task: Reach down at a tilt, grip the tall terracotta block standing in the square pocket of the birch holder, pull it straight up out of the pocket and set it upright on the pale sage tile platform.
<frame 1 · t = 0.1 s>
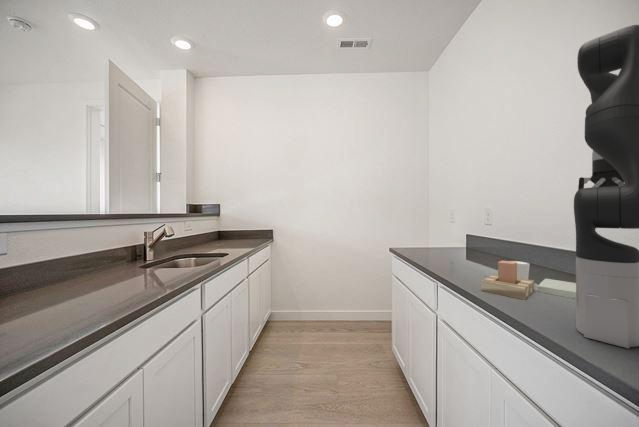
hand: (608, 206, 83), 29 cm above the worktop, tool pointing down, fingers open, 8 cm apart
birch holder: (507, 290, 86), on the worktop
shot glass: (518, 280, 100), on the worktop
sage tile platform: (569, 292, 84), on the worktop
terracotta block: (507, 276, 86), in the birch holder
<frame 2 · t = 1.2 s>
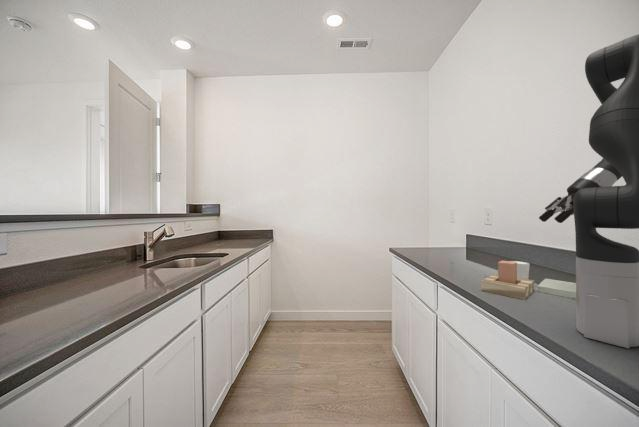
hand: (548, 220, 83), 25 cm above the worktop, tool tilted 45°, fingers open, 8 cm apart
nothing on the worktop moved.
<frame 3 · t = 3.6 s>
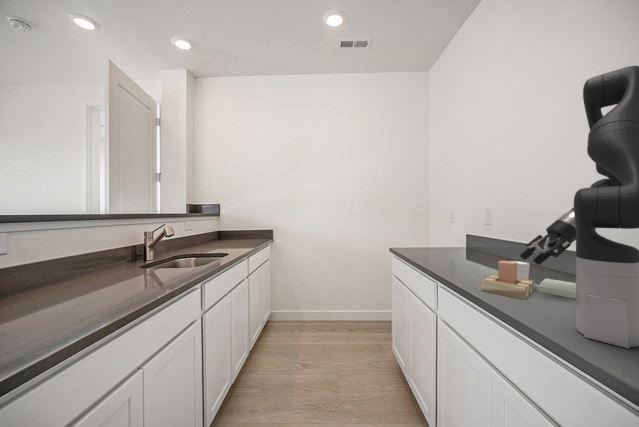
hand: (528, 260, 84), 11 cm above the worktop, tool tilted 45°, fingers open, 8 cm apart
nothing on the worktop moved.
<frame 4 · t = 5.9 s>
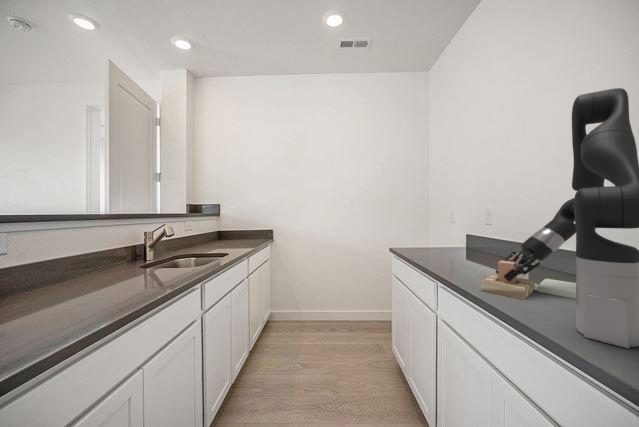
hand: (501, 276, 87), 5 cm above the worktop, tool tilted 45°, fingers closed on terracotta block, 6 cm apart
terracotta block: (507, 276, 86), in the birch holder, touching gripper
everything else where it was.
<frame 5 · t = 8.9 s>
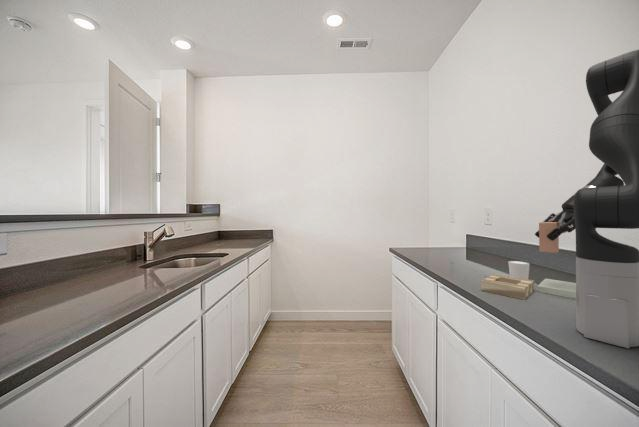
hand: (543, 237, 85), 19 cm above the worktop, tool tilted 45°, fingers closed on terracotta block, 6 cm apart
terracotta block: (548, 236, 85), point 19 cm above the worktop, touching gripper
everything else where it was.
when the fingers open (8 cm above the worktop, at t = 11.9 s): terracotta block drops 1 cm, resting on sage tile platform.
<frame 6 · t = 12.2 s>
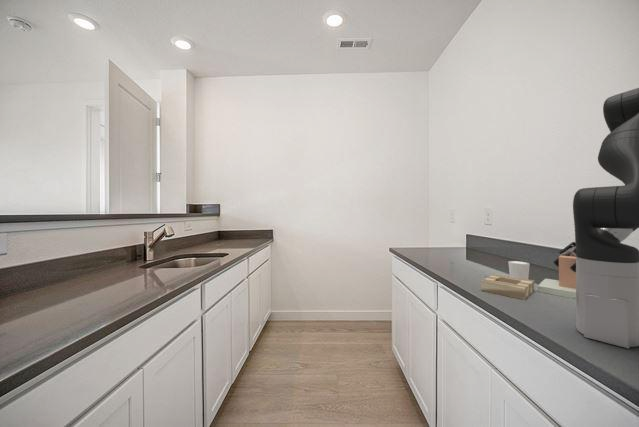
hand: (564, 267, 84), 8 cm above the worktop, tool tilted 45°, fingers open, 8 cm apart
terracotta block: (568, 271, 84), on the sage tile platform, point 7 cm above the worktop
everything else where it was.
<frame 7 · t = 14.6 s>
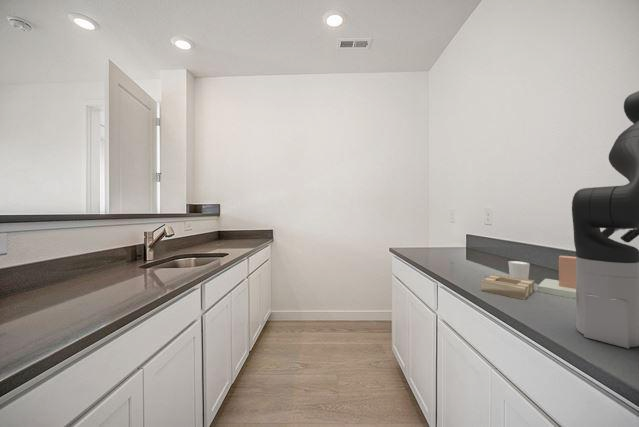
hand: (611, 238, 80), 18 cm above the worktop, tool tilted 45°, fingers open, 8 cm apart
nothing on the worktop moved.
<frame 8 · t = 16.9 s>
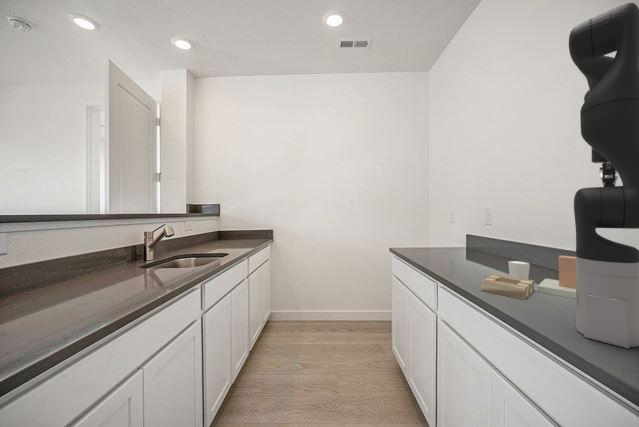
hand: (609, 196, 78), 32 cm above the worktop, tool pointing down, fingers open, 8 cm apart
nothing on the worktop moved.
at the end: terracotta block inside the target area on the sage tile platform (0.2 cm from its centre), point 7.0 cm above the sage tile platform's base; terracotta block tilted 0°; the gripper is holding nothing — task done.
